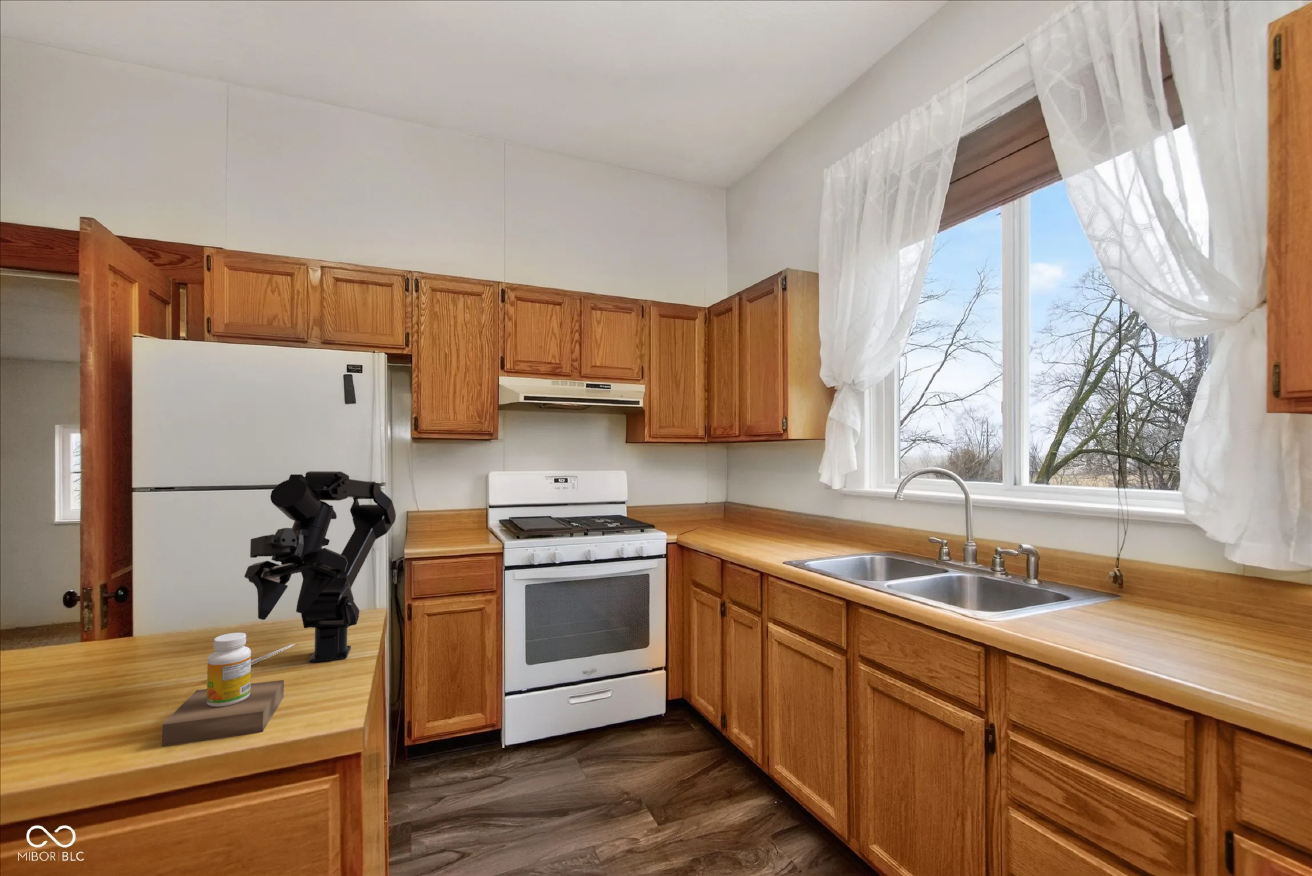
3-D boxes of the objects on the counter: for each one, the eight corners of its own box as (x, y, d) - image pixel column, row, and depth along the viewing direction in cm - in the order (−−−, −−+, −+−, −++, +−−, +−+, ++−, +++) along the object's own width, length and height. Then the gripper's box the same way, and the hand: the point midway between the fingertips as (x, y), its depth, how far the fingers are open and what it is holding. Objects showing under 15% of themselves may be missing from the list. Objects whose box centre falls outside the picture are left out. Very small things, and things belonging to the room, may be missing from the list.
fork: (302, 647, 120) (302, 638, 120) (223, 684, 100) (224, 673, 100) (287, 647, 120) (288, 638, 120) (206, 683, 100) (207, 673, 101)
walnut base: (195, 708, 90) (196, 689, 90) (283, 697, 95) (283, 679, 95) (161, 746, 79) (162, 724, 79) (262, 731, 83) (263, 711, 83)
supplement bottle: (204, 699, 87) (205, 636, 87) (246, 689, 91) (247, 628, 91) (209, 711, 83) (210, 645, 83) (253, 699, 87) (254, 636, 87)
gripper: (233, 524, 102) (196, 610, 93) (307, 504, 96) (275, 595, 87) (288, 545, 111) (259, 626, 102) (359, 529, 105) (335, 613, 96)
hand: (280, 615), depth 97 cm, fingers open, 9 cm apart
